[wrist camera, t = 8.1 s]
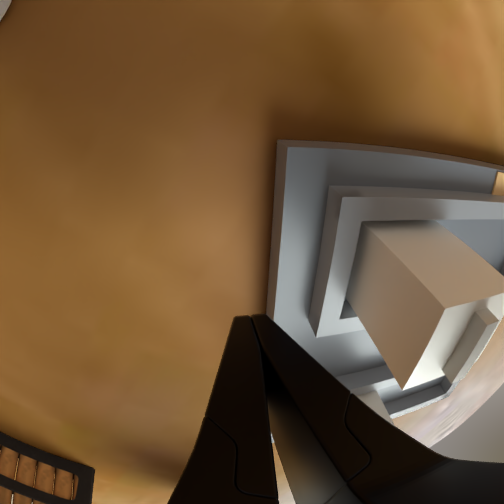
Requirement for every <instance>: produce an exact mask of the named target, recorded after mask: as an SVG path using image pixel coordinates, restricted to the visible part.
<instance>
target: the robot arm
mask: <svg viewBox="0 0 504 504" xmlns="http://www.w3.org/2000/svg"><path fill="white" fill-rule="evenodd" d="M271 434H272V437H273V440H274V443H275V446H276V449H277V452H278V455H279V457H280V460H281V463H282V466H283V469H284V472H285V475H286V478H287V480H288V483H289V486H290V489H291V492H292V494H293V497H294V500H295V503H296V504H504V463H495V462H479V461H467V460H458V459H453V458H449V457H446V456H442V455H441V454H438V453H436V452H434V451H433V450H431V449H429V448H428V447H426V446H425V445H423V444H421V443H420V442H418V441H417V440H415V439H414V438H412V437H411V436H409V435H407V434H406V433H404V432H403V431H401V430H400V429H398V428H397V427H395V426H394V425H392V424H391V423H390V422H388V421H387V420H385V419H384V418H383V417H381V416H380V415H379V414H377V413H376V412H375V411H374V410H372V409H371V408H370V407H369V406H367V405H366V404H365V403H364V402H363V401H361V400H360V399H359V398H358V397H357V396H356V395H355V394H353V393H351V391H350V390H349V389H348V388H347V387H345V386H344V385H343V384H342V383H341V382H340V381H339V380H338V379H336V378H335V377H334V376H333V375H332V374H331V373H330V372H329V371H328V370H326V369H325V368H324V367H323V366H322V365H321V364H320V363H319V362H318V361H316V360H315V359H314V358H313V357H312V356H311V355H310V354H309V353H308V352H307V351H306V350H304V349H303V348H302V347H301V346H300V345H299V344H298V343H297V342H296V341H295V340H294V339H293V338H291V337H290V336H289V335H288V334H287V333H286V332H285V331H284V330H283V329H282V328H281V327H280V326H279V325H277V324H276V323H275V322H274V321H273V320H272V319H271V318H270V317H269V316H268V315H267V314H253V315H251V316H248V315H243V316H235V317H234V318H233V322H232V325H231V328H230V332H229V335H228V338H227V342H226V345H225V349H224V352H223V355H222V359H221V362H220V365H219V369H218V372H217V375H216V379H215V382H214V385H213V389H212V392H211V395H210V399H209V402H208V406H207V409H206V412H205V417H204V418H203V422H202V425H201V428H200V431H199V434H198V437H197V440H196V443H195V446H194V449H193V451H192V453H191V456H190V458H189V460H188V462H187V465H186V467H185V469H184V471H183V473H182V475H181V477H180V479H179V481H178V483H177V485H176V487H175V489H174V491H173V493H172V495H171V497H170V499H169V501H168V503H167V504H279V501H278V489H277V481H276V472H275V464H274V455H273V447H272V438H271Z"/></svg>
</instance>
